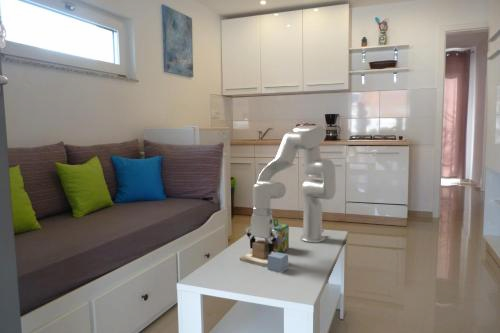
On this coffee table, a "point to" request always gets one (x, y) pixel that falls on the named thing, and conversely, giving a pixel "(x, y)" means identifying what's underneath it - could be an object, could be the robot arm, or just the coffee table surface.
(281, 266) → the slate cube
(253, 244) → the walnut cube
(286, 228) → the chalk box
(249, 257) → the tan square board
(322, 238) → the robot arm
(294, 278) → the coffee table surface
